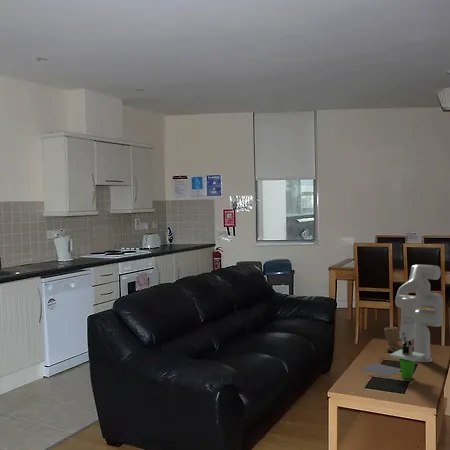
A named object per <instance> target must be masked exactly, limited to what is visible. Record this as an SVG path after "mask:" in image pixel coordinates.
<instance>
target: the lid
mask: <svg viewBox="0 0 450 450" xmlns="http://www.w3.org/2000/svg"><path fill="white" fill-rule="evenodd" d="M408 347H409V354H405V353H403V346H402V350H398V351H396V352H392V353H389V357H392V358H395V359H399V358H400V359H405V360H410V361H415V362H417V361H416V360H418V359H420V358H422V357H424V356H425V354H422V353H417V352H414V351H413V347H414V344H412V345H408Z"/></svg>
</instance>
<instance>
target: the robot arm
mask: <svg viewBox="0 0 450 450" xmlns="http://www.w3.org/2000/svg"><path fill="white" fill-rule="evenodd" d="M441 273H442V272H441V268H440V266H439V265H433V264H413V265H411V267H410V273H409V276H408V277H409V278H408V281H406V282H405V283H403V284H402V285H401V286H400V287H399V288H398V290H397V292H396V294H395V295H396V296H395V300H394V303H395V304H394V305H396V307H397V308H400V327H399V340H400V342H401V344H402V346H403V353H405V354H409V347H408V345H413V352H417V353H422V354H425V356H424V357H422V358H420V359H418V360H416V361H415V362H417V363H430V362H433V358H432V357H431V354H432V353H431V333H430V329H429V328H428V327H429V326H430V327H436V328H437V327H441V326H442V325H443V319H444V297H443V296H442V294H440V293H437V292H431V283H430V281H429V280H439V279H440V277H441V275H442V274H441ZM414 292H415V295H411V294H410V293H414ZM420 308H424V309H420ZM425 308H427V309H425ZM432 309H433V310H432Z"/></svg>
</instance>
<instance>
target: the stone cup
mask: <svg viewBox="0 0 450 450" xmlns="http://www.w3.org/2000/svg"><path fill="white" fill-rule="evenodd" d="M383 332H384V336H385V340H386V341H387V345H386V350H388V351H390V352H392V353H394V352H396V351H398V350H402V345H401V344H399V340H400V329H399V328H398V327H396V326H388V327H384V329H383Z"/></svg>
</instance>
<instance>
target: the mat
mask: <svg viewBox="0 0 450 450" xmlns="http://www.w3.org/2000/svg"><path fill="white" fill-rule="evenodd" d="M360 371H365V372H370V373H373V374H379V375H382V376H386V377H391V376H393V375H395V374H397V373H400V372H401V367H400V368H399V367H394V366H390V365H385V364H381V363H375V362H374V363H372V364H369V365H367V366H365V367H363V368H361V369H360Z"/></svg>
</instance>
